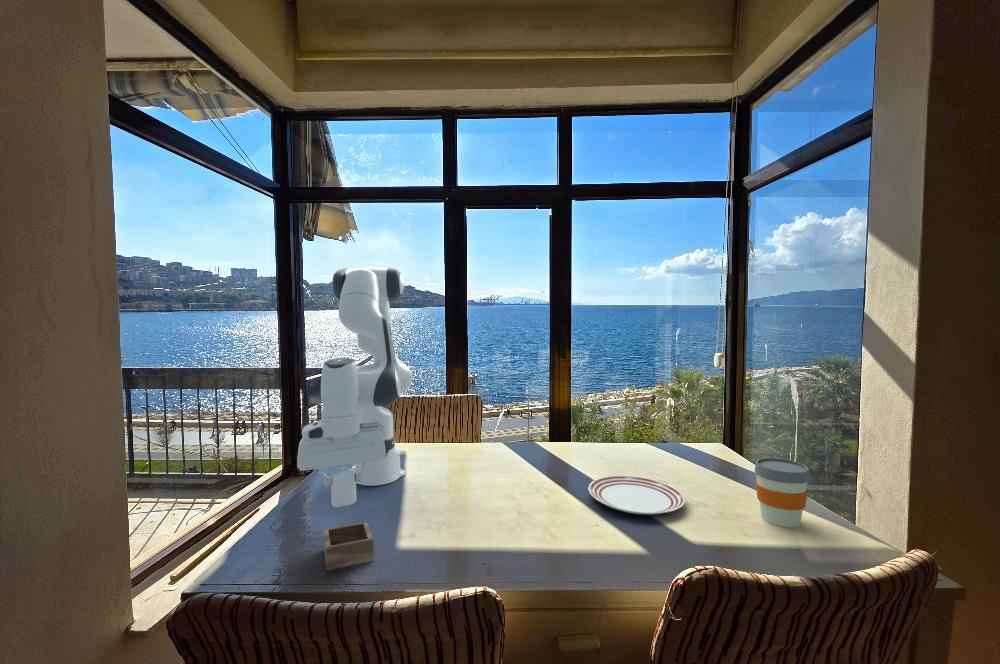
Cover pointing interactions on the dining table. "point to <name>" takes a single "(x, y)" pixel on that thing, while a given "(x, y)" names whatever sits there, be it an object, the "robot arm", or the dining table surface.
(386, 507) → the dining table surface
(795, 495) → the reusable coffee cup
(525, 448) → the dining table surface
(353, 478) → the eye dropper bottle
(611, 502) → the dinner plate
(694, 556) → the dining table surface
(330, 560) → the small open wooden box
